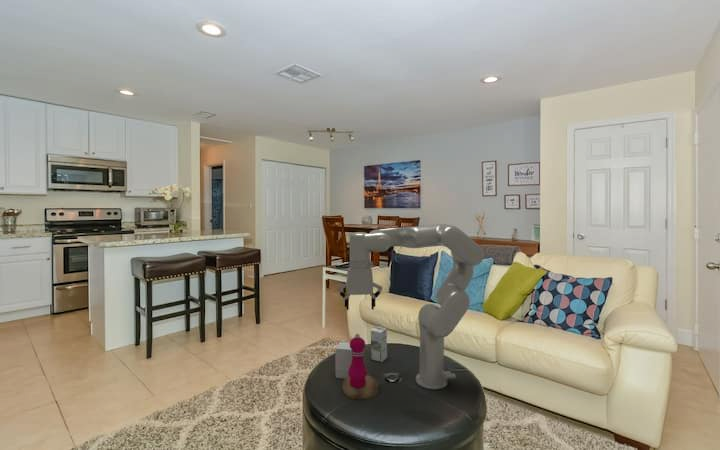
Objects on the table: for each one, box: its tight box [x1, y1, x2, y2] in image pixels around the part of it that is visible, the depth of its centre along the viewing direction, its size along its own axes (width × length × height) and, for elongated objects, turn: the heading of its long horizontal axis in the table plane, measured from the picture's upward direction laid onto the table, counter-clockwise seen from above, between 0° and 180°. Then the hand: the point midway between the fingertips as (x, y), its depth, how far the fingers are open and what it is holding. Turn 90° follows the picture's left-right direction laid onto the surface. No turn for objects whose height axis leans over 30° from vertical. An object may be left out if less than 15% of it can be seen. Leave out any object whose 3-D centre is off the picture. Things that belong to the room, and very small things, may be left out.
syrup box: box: [370, 325, 388, 363], centre depth 165 cm, size 6×6×14 cm
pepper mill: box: [348, 333, 368, 388], centre depth 138 cm, size 7×7×20 cm
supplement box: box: [334, 341, 352, 380], centre depth 151 cm, size 7×7×13 cm
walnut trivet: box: [341, 374, 379, 400], centre depth 140 cm, size 14×14×2 cm
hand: (360, 308), depth 137 cm, fingers open, 9 cm apart
